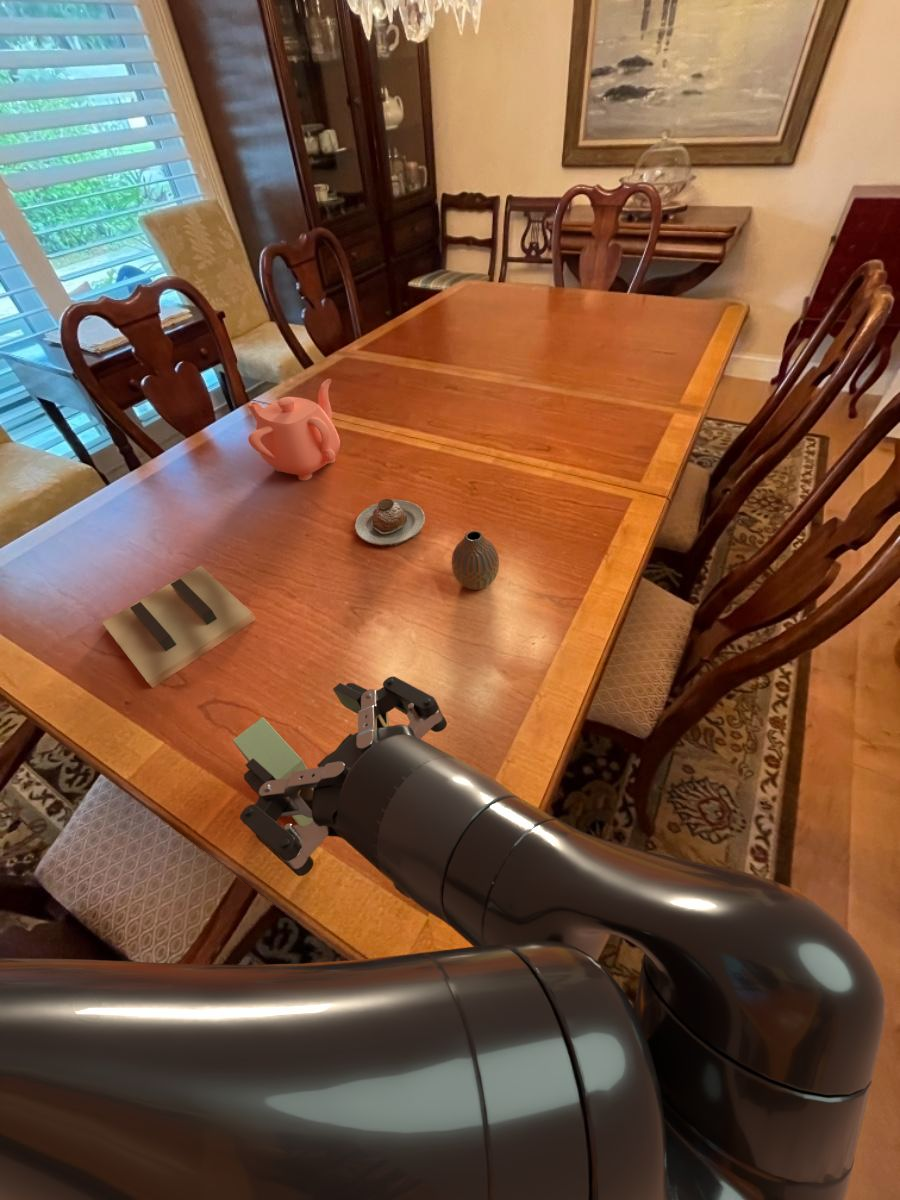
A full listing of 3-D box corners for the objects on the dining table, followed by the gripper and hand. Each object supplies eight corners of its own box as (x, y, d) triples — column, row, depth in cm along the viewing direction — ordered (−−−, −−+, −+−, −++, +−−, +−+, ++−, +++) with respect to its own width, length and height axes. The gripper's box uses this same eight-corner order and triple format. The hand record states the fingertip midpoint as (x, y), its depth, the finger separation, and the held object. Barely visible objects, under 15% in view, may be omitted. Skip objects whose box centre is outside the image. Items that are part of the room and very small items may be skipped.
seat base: (152, 688, 71) (139, 672, 69) (107, 629, 80) (94, 613, 77) (255, 619, 78) (247, 603, 76) (204, 572, 87) (195, 555, 84)
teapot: (265, 451, 112) (242, 388, 103) (344, 435, 114) (329, 373, 105) (265, 493, 101) (240, 427, 92) (353, 475, 103) (338, 409, 94)
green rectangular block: (304, 832, 56) (270, 786, 48) (268, 789, 60) (231, 740, 52) (330, 807, 58) (302, 759, 50) (294, 767, 62) (262, 716, 54)
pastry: (414, 498, 96) (411, 476, 93) (434, 537, 88) (431, 515, 85) (350, 515, 94) (344, 493, 91) (364, 557, 86) (358, 534, 83)
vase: (500, 595, 78) (499, 550, 72) (453, 598, 78) (448, 553, 72) (498, 563, 83) (497, 518, 76) (453, 566, 83) (449, 521, 77)
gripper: (490, 693, 32) (345, 638, 44) (305, 893, 25) (192, 764, 37) (524, 773, 36) (382, 702, 48) (371, 966, 29) (249, 828, 41)
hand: (299, 729), depth 42 cm, fingers open, 8 cm apart
